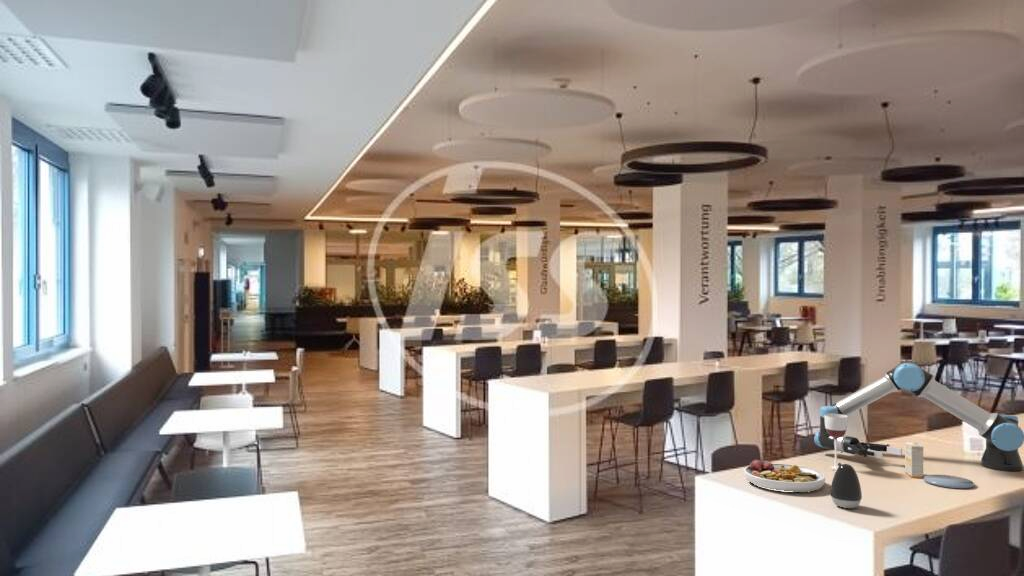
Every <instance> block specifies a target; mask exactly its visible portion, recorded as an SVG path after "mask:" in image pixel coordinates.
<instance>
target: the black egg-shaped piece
mask: <svg viewBox="0 0 1024 576" xmlns="http://www.w3.org/2000/svg"><path fill="white" fill-rule="evenodd" d="M837 467H838V468H837V470H836V471H834V475H833V477H832V481H831V484H830V485H831V486H830V490H829V491H830V492H829V493H830V494H829V495H830V496H831V500H832V502H833V504H834V505H835V506H837V507H838V506H840V507H839V508H841V507H845V508H853V509H855V507H856V508H857V507H858V506H859V505H860V504H861V501H862V499H863V494H862V487H861V483H860V480H859V476H858V473H857V472H856V470H855V468H854V467H853V466H852V465H851V464H848V463H843V464H842V463H841V462H837ZM845 508H844V509H845Z"/></svg>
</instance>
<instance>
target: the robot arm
mask: <svg viewBox="0 0 1024 576" xmlns="http://www.w3.org/2000/svg"><path fill="white" fill-rule="evenodd" d="M901 390H903V391H906V392H908V393H910V394H912V395H913V396H915V397H917V398H924V399H926V400H928V401H930V402H931V403H933V404H935V405H936V406H938V407H939V408H941V409H943V410H944V411H946V412H947V413H950V414H951V415H953V416H955V417H956V418H957V419H959V420H961V421H963V422H964V423H965V424H968V425H969V426H971V427H972V428H974V429H976V430H977V433H978V435H979V436H980V437H982V438H984V439H985V449H984V452H983V454H982V456H981V458H980V459H981V461H980V465H981V466H983V467H984V468H988V469H991V470H997V471H1004V470H1005V471H1007V472H1020V470H1021V471H1023V470H1024V464H1023V461H1022V459H1021V456H1020V452H1019V449H1020V448H1021V447H1022V445H1024V431H1023V429H1022V428H1021V427H1020V426H1019V417H1018V416H1017V415H1012V414H999V413H998V412H993V413H991V412H989V411H987V410H985V409H983V408H982V407H980V406H979V405H977V404H975V403H974V402H971V401H970V400H969V399H967V398H965V397H963V396H961V394H959V393H957V392H955V391H953V390H952V389H950V388H948V387H947V386H945V385H944V384H942V383H940V382H938V381H937V380H936V379H935V376H934V375H933V374H932V373H930V372H929V371H927V370H925V369H923V368H922V367H921V366H920V365H919V364H917V363H915V362H914V361H910V360H909V361H902V362H900V363H899V364H897V365H896V366H895V367H893V368H892V369H890V370H889V371H886V372H885V373H884V376H882V377H881V378H878V379H877V380H875V381H873V382H871V383H870V384H868V385H866V386H865V387H864V386H863V387H862V388H861V389H858V390H857V391H855V392H853V393H851V394H850V395H848V396H845V397H844V398H842V399H841V400H839V401H836V402H835V403H833V404H831V405H823V406H820V412H819V430H817V431H816V432H815V433H814V438H813V440H814V443H815V445H816V446H817V447H820V448H823V449H828V450H832V451H833V450H834V451H835V439H834V438H833V437H831V436H830V435H829V434H828V433H827V431H826V428H825V419H824V415H825V414H842V415H846V416H850V415H852V414H853V413H855V412H857V411H859V410H860V409H862V408H865V407H866V406H868V405H870V404H872V403H874V402H875V401H878V400H879V399H881V398H884V397H885V396H887V395H888V394H891V393H893V392H894V391H897V392H900V391H901ZM837 452H840V453H841V454H843V453H846V454H848V455H849V454H851V455H859V456H861V457H862V456H863V458H867V457H871V458H875V459H881V460H883V458H884V454H883V453H884V452H886V453H888V454H893V455H896V456H897V455H898V456H903V449H902V448H898V447H893V446H890V444H888V443H887V444H881V443H880V444H879V443H873V442H872V443H871V442H868V441H867V442H860V441H859V439H858V437H854V436H849V435H846V434H844V435H843V436H842V437H840V438H838V439H837Z"/></svg>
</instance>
